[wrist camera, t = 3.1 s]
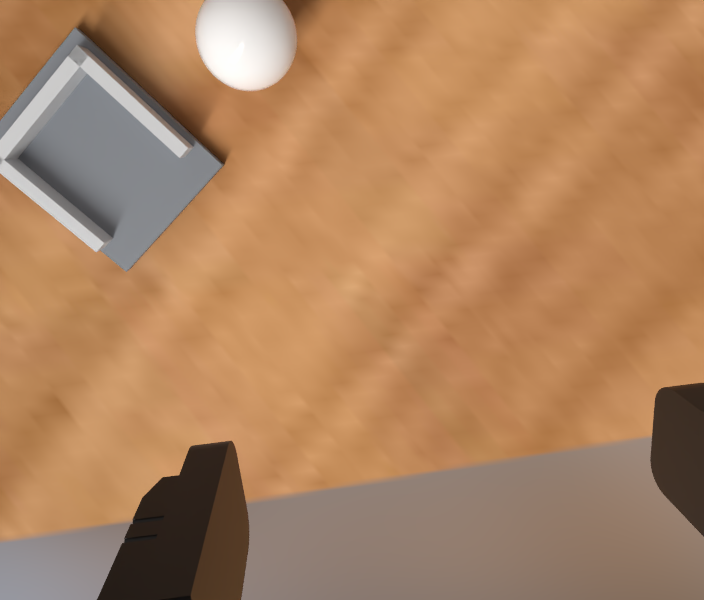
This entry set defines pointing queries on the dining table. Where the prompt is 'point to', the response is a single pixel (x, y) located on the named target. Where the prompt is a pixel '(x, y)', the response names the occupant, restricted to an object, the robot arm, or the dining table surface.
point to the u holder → (101, 152)
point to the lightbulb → (246, 41)
